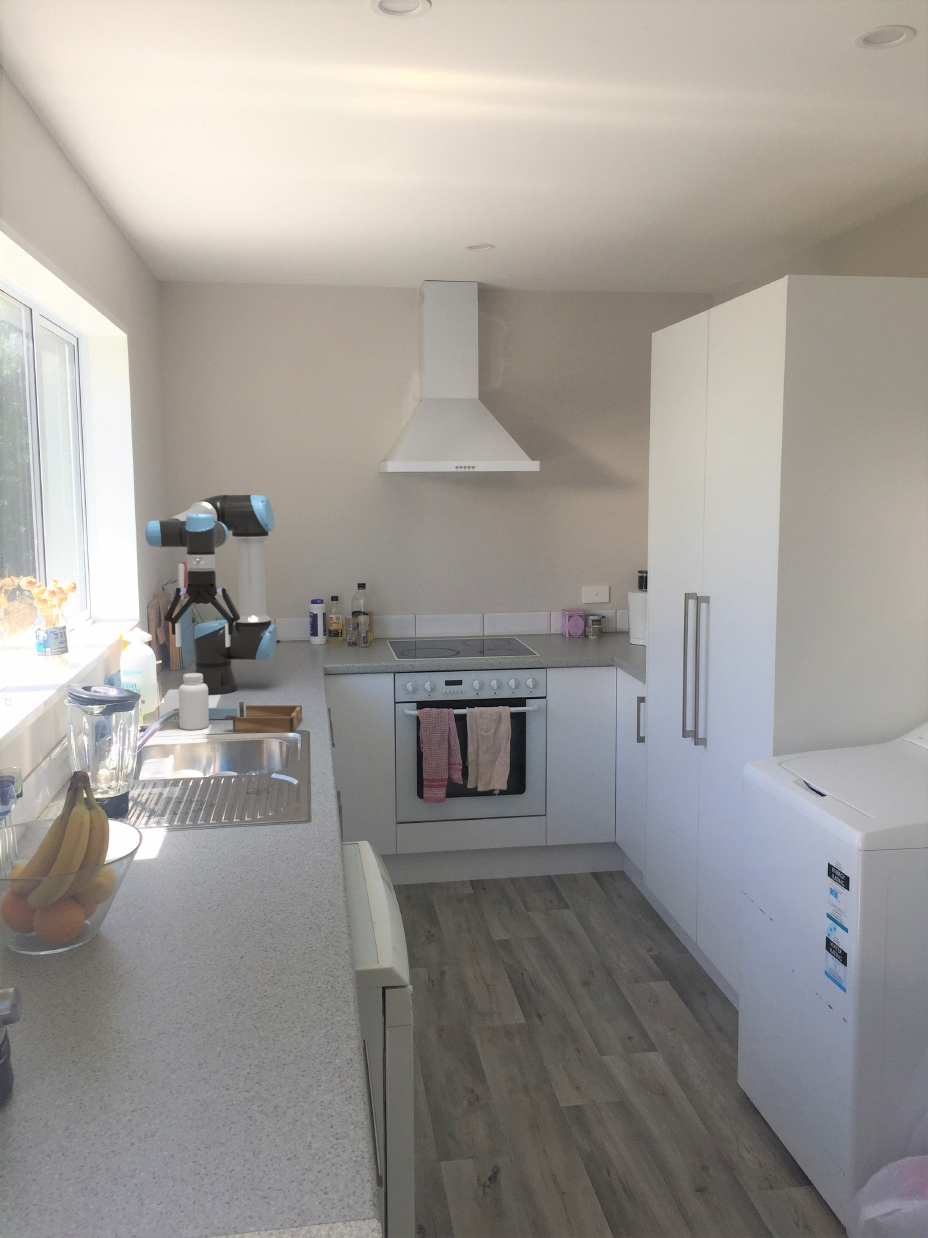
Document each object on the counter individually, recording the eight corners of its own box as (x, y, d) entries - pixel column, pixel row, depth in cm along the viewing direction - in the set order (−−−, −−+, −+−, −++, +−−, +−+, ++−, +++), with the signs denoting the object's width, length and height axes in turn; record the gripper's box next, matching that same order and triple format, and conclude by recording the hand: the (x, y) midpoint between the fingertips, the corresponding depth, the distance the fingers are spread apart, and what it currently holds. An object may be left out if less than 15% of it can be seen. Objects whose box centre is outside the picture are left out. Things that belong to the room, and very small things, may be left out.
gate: (237, 718, 277) (236, 707, 277) (236, 718, 276) (236, 708, 276) (190, 718, 277) (190, 707, 276) (189, 718, 276) (189, 708, 276)
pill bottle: (197, 731, 262) (195, 677, 260) (173, 729, 265) (171, 675, 263) (215, 725, 269) (213, 673, 267) (191, 723, 272) (189, 671, 270)
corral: (237, 718, 277) (237, 702, 277) (302, 718, 278) (301, 701, 277) (225, 732, 261) (224, 714, 261) (293, 732, 262) (292, 714, 261)
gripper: (151, 570, 259) (154, 648, 261) (244, 570, 260) (246, 648, 262) (159, 569, 266) (161, 644, 268) (249, 569, 267) (251, 644, 269)
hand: (203, 646), depth 265 cm, fingers open, 13 cm apart
